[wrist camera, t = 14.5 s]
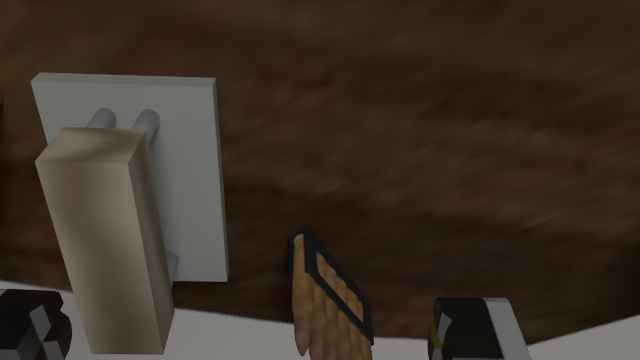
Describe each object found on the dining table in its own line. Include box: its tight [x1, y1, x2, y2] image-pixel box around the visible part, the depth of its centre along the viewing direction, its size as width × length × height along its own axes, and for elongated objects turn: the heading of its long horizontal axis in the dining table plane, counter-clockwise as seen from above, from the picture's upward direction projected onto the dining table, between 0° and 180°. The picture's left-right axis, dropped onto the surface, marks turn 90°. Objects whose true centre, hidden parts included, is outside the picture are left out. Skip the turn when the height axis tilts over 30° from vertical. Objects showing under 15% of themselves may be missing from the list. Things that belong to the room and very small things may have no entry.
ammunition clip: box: [289, 229, 374, 360], centre depth 43 cm, size 11×2×12 cm, turn 33°
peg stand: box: [31, 73, 229, 287], centre depth 40 cm, size 12×18×6 cm, turn 178°
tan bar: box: [35, 127, 175, 355], centre depth 35 cm, size 5×16×4 cm, turn 178°
